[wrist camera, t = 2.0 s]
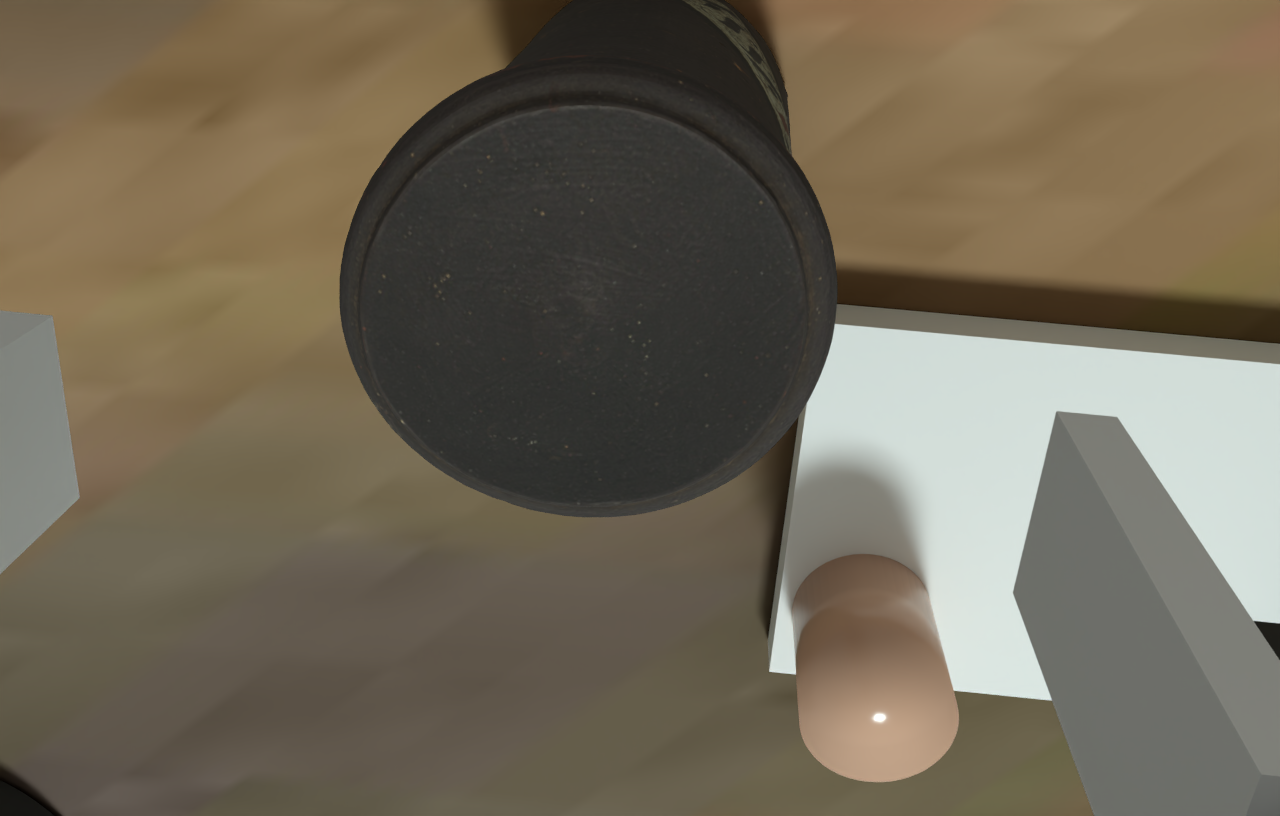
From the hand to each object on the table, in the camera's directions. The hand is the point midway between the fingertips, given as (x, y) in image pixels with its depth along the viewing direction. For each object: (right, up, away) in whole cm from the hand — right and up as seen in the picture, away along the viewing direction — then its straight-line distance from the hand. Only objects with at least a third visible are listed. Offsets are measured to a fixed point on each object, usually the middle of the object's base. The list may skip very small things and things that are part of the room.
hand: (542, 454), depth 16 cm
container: (+2, +10, +23) cm, 25 cm away
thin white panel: (+17, -3, +27) cm, 32 cm away
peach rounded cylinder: (+9, -7, +28) cm, 30 cm away
